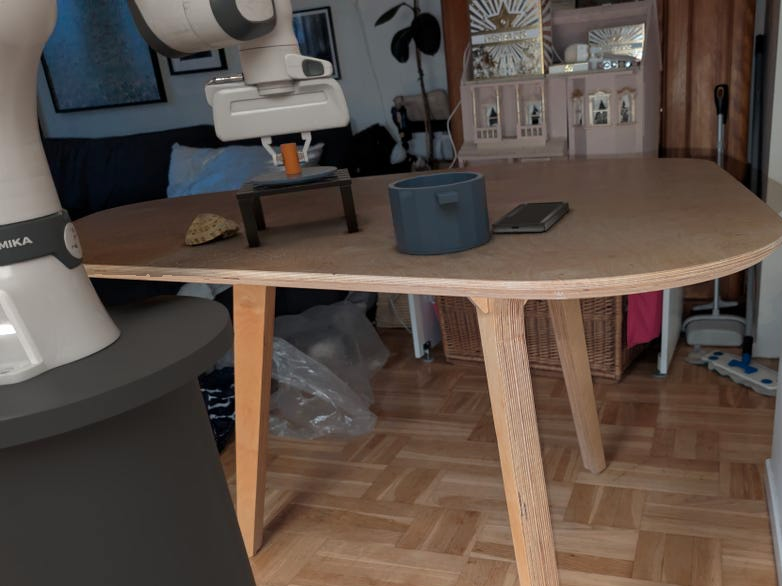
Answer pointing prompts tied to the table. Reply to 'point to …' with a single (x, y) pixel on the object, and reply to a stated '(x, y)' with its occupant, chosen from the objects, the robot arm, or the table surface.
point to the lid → (292, 170)
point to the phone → (530, 217)
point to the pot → (440, 212)
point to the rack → (253, 192)
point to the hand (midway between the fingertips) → (292, 164)
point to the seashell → (209, 228)
